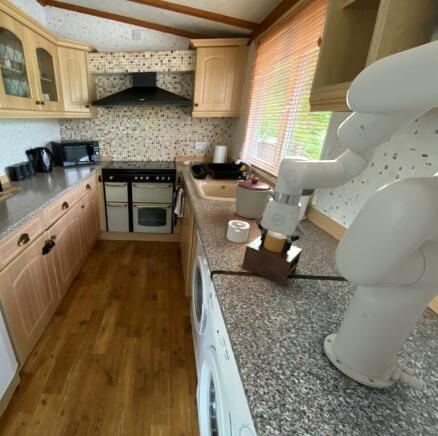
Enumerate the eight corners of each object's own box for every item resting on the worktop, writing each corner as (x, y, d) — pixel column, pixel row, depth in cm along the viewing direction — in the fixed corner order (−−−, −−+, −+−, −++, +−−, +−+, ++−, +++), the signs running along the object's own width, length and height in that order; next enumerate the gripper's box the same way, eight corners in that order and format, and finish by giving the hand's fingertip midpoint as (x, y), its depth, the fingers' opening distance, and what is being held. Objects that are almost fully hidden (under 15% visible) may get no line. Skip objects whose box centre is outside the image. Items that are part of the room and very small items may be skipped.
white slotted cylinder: (246, 244, 103) (249, 230, 100) (225, 240, 106) (227, 226, 103) (248, 226, 120) (250, 213, 117) (230, 223, 123) (231, 211, 120)
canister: (224, 212, 137) (229, 175, 129) (247, 207, 145) (254, 172, 136) (248, 224, 122) (256, 183, 114) (273, 218, 129) (282, 179, 121)
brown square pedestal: (295, 271, 85) (302, 249, 82) (283, 286, 78) (289, 262, 74) (256, 255, 95) (261, 235, 91) (242, 267, 87) (246, 245, 84)
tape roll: (287, 247, 83) (291, 235, 81) (280, 254, 78) (283, 241, 77) (268, 240, 87) (271, 228, 85) (260, 246, 83) (263, 234, 81)
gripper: (253, 193, 79) (244, 241, 86) (314, 207, 68) (298, 261, 75) (263, 189, 84) (254, 235, 91) (322, 201, 72) (306, 253, 79)
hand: (274, 246), depth 83 cm, fingers closed on tape roll, 6 cm apart
